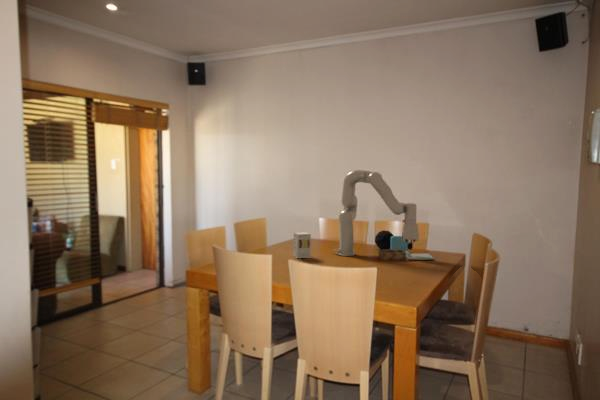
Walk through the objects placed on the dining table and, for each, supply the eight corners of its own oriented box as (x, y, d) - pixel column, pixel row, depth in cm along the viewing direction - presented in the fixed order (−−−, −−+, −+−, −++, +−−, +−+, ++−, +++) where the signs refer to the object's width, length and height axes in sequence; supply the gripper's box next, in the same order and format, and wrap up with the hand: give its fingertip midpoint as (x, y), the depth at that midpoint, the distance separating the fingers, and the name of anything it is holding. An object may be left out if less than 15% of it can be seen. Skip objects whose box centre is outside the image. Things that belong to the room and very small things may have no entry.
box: (381, 260, 275) (381, 252, 275) (378, 256, 286) (378, 249, 286) (405, 260, 275) (405, 252, 274) (402, 256, 286) (402, 249, 285)
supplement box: (297, 259, 280) (297, 234, 278) (293, 256, 288) (293, 232, 287) (311, 258, 283) (310, 233, 281) (306, 255, 291) (306, 231, 290)
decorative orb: (368, 241, 318) (375, 226, 309) (384, 239, 324) (392, 225, 315) (377, 255, 308) (384, 240, 299) (393, 253, 314) (401, 239, 305)
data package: (406, 252, 301) (406, 235, 301) (408, 253, 297) (408, 236, 296) (390, 252, 301) (390, 235, 300) (391, 253, 296) (392, 237, 295)
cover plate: (408, 260, 274) (408, 253, 274) (404, 256, 287) (404, 250, 286) (433, 260, 274) (433, 253, 273) (427, 256, 286) (427, 250, 286)
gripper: (400, 222, 275) (399, 250, 276) (423, 222, 274) (422, 250, 276) (397, 221, 282) (397, 248, 284) (420, 221, 282) (419, 248, 283)
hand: (410, 249), depth 280 cm, fingers closed
